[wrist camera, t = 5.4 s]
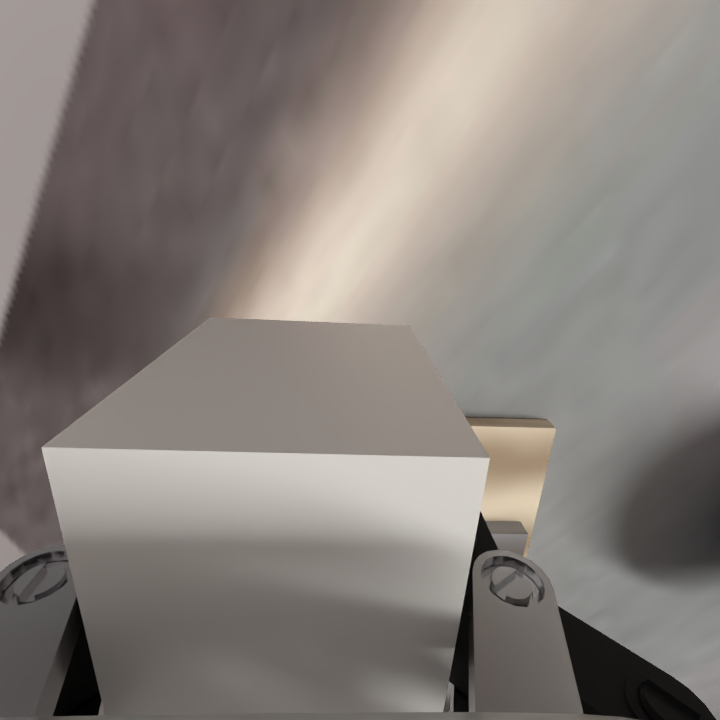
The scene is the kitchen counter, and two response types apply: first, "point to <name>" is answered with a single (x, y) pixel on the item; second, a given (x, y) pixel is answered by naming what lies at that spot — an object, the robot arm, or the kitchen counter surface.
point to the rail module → (272, 523)
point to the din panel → (513, 476)
